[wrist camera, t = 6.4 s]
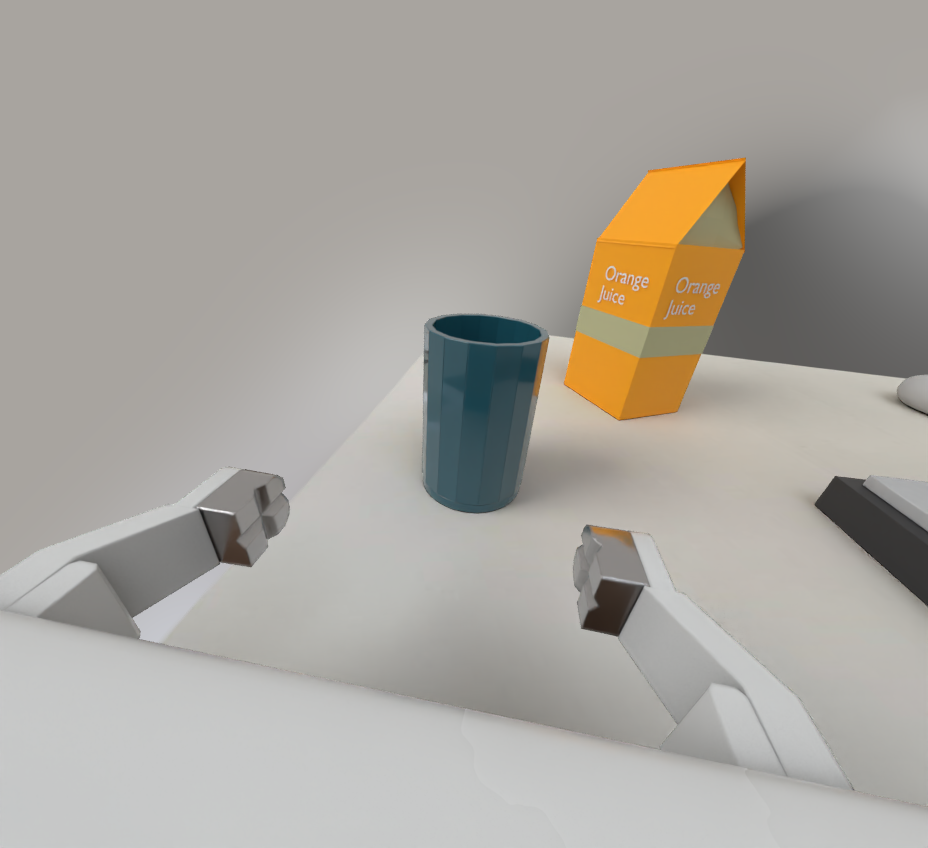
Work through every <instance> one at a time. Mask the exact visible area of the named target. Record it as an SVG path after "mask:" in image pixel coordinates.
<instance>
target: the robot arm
mask: <svg viewBox="0 0 928 848" xmlns="http://www.w3.org/2000/svg"><path fill="white" fill-rule="evenodd" d="M285 488H286V487H285V484H284V480H283V478H282V477H280V476H278V475H273V474H268V473H262V472H257V471H251V470H246V469H245V470H244V469H238V468H233V467H225V468H221V469H220V470H219V471H217V472H216V473H215V474H213V475H212V476H211V477H210V478H208V479H207V480H206V481H204V482H203V483H202V484H200V485H199V486H198V487H197V488H195V489H194V490H193V491H191V492H190V493H189V494H187V495H186V496H185V497H183V498H182V499H181V500H180V501H178V502H177V503H176V504H174V505H171V504H167V505H164V506H161V507H158V508H155V509H153V510H150V511H147V512H144V513H142V514H139V515H136V516H133V517H131V518H128V519H125V520H122V521H119V522H116V523H114V524H111V525H108V526H105V527H103V528H100V529H97V530H94V531H91V532H89V533H86V534H83V535H80V536H77V537H74V538H72V539H69V540H66V541H63V542H60V543H58V544H55V545H52V546H49V547H46V548H44V549H41V550H38V551H37V552H35V553H34V554H32V555H31V556H29V557H28V558H26V559H25V560H23V561H22V562H20V563H18V564H17V565H15V566H14V567H13V568H11V569H9V570H8V571H6V572H5V573H3V574H1V575H0V848H928V806H923V805H919V804H914V803H909V802H904V801H900V800H895V799H890V798H885V797H881V796H876V795H871V794H867V793H862V792H857V791H855V790H854V789H853V787H852V785H851V784H850V782H849V780H848V779H847V777H846V775H845V774H844V772H843V770H842V769H841V767H840V765H839V764H838V762H837V760H836V759H835V757H834V755H833V754H832V752H831V750H830V748H829V747H828V745H827V743H826V742H825V740H824V738H823V737H822V735H821V733H820V732H819V730H818V728H817V727H816V725H815V723H814V722H813V720H812V718H811V717H810V715H809V713H808V712H807V710H806V708H805V707H804V705H803V703H802V702H801V700H800V698H799V697H798V696H797V695H796V694H794V693H793V692H792V691H791V690H790V689H789V688H788V687H787V686H786V685H785V684H783V683H782V682H781V681H780V680H779V679H778V678H777V677H776V676H775V675H773V674H772V673H771V672H770V671H769V670H768V669H767V668H766V667H765V666H764V665H762V664H761V663H760V662H759V661H758V660H757V659H756V658H755V657H754V656H753V655H751V654H750V653H749V652H748V651H747V650H746V649H745V648H744V647H743V646H742V645H740V644H739V643H738V642H737V641H736V640H735V639H734V638H733V637H732V636H730V635H729V634H728V633H727V632H726V631H725V630H724V629H723V628H722V627H721V626H719V625H718V624H717V623H716V622H715V621H714V620H713V619H712V618H711V617H710V616H708V615H707V614H706V613H705V612H704V611H703V610H702V609H701V608H700V607H699V606H697V605H696V604H695V603H694V602H693V601H692V600H691V599H690V598H689V597H687V596H686V595H685V594H684V593H681V592H677V591H676V589H675V587H674V584H673V582H672V580H671V578H670V575H669V573H668V571H667V569H666V566H665V564H664V562H663V560H662V557H661V555H660V553H659V551H658V548H657V546H656V544H655V542H654V539H653V537H652V536H651V535H650V534H648V533H641V532H634V531H625V530H619V529H612V528H606V527H599V526H592V525H586V526H585V527H584V529H583V532H582V535H581V537H582V542H583V545H581V546H580V547H578V548H577V550H576V554H575V557H574V565H573V578H574V585H575V587H576V588H577V589H578V591H579V592H580V596H579V598H578V601H577V605H578V611H579V618H580V624H581V629H586V630H590V631H595V632H600V633H604V634H609V635H614V636H618V639H619V641H620V642H621V644H622V645H623V646H624V648H625V649H626V651H627V652H628V654H629V655H630V657H631V658H632V659H633V661H634V662H635V664H636V665H637V667H638V668H639V670H640V671H641V672H642V674H643V675H644V677H645V678H646V680H647V681H648V683H649V684H650V685H651V687H652V688H653V690H654V691H655V693H656V694H657V696H658V697H659V698H660V700H661V701H662V703H663V704H664V706H665V707H666V709H667V710H668V711H669V713H670V714H671V716H672V717H673V719H674V720H675V722H676V723H677V724H678V725H677V726H676V727H675V729H674V730H673V731H672V732H671V734H670V735H669V736H668V737H667V738H666V740H665V741H664V742H663V743H662V745H661V746H660V749H655V748H650V747H646V746H641V745H636V744H631V743H627V742H622V741H617V740H613V739H608V738H603V737H598V736H594V735H589V734H584V733H580V732H575V731H570V730H566V729H561V728H556V727H551V726H547V725H542V724H537V723H533V722H528V721H523V720H518V719H514V718H509V717H504V716H500V715H495V714H490V713H486V712H481V711H476V710H471V709H467V708H462V707H457V706H453V705H448V704H443V703H439V702H434V701H429V700H424V699H420V698H415V697H410V696H406V695H401V694H396V693H391V692H387V691H382V690H377V689H373V688H368V687H363V686H359V685H354V684H349V683H344V682H340V681H335V680H330V679H326V678H321V677H316V676H311V675H307V674H302V673H297V672H293V671H288V670H283V669H278V668H274V667H269V666H264V665H259V664H255V663H250V662H245V661H240V660H236V659H231V658H226V657H222V656H217V655H212V654H207V653H203V652H198V651H193V650H188V649H184V648H179V647H174V646H169V645H165V644H160V643H155V642H150V641H146V640H140V639H139V638H140V630H139V628H138V627H137V625H136V623H135V622H134V620H133V619H132V618H133V617H134V616H136V615H138V614H139V613H141V612H143V611H144V610H146V609H147V608H149V607H151V606H152V605H154V604H156V603H157V602H159V601H160V600H162V599H164V598H165V597H167V596H168V595H170V594H172V593H174V592H175V591H177V590H179V589H180V588H182V587H183V586H185V585H187V584H188V583H190V582H192V581H193V580H195V579H196V578H198V577H200V576H201V575H203V574H204V573H206V572H208V571H210V570H211V569H213V568H214V567H216V566H218V565H219V564H220V562H222V563H228V564H234V565H241V566H247V567H252V566H253V565H254V563H255V562H256V561H257V560H258V559H259V557H260V556H261V555H262V554H263V552H264V551H265V550H266V549H267V548H268V539H270V538H272V537H274V536H275V535H277V534H279V533H280V531H281V530H282V529H283V528H284V526H285V524H286V522H287V519H288V517H289V511H290V506H289V501H288V499H287V498H286V497H285V496H284V495H283V494H282V492H283V490H284V489H285Z"/></svg>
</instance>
